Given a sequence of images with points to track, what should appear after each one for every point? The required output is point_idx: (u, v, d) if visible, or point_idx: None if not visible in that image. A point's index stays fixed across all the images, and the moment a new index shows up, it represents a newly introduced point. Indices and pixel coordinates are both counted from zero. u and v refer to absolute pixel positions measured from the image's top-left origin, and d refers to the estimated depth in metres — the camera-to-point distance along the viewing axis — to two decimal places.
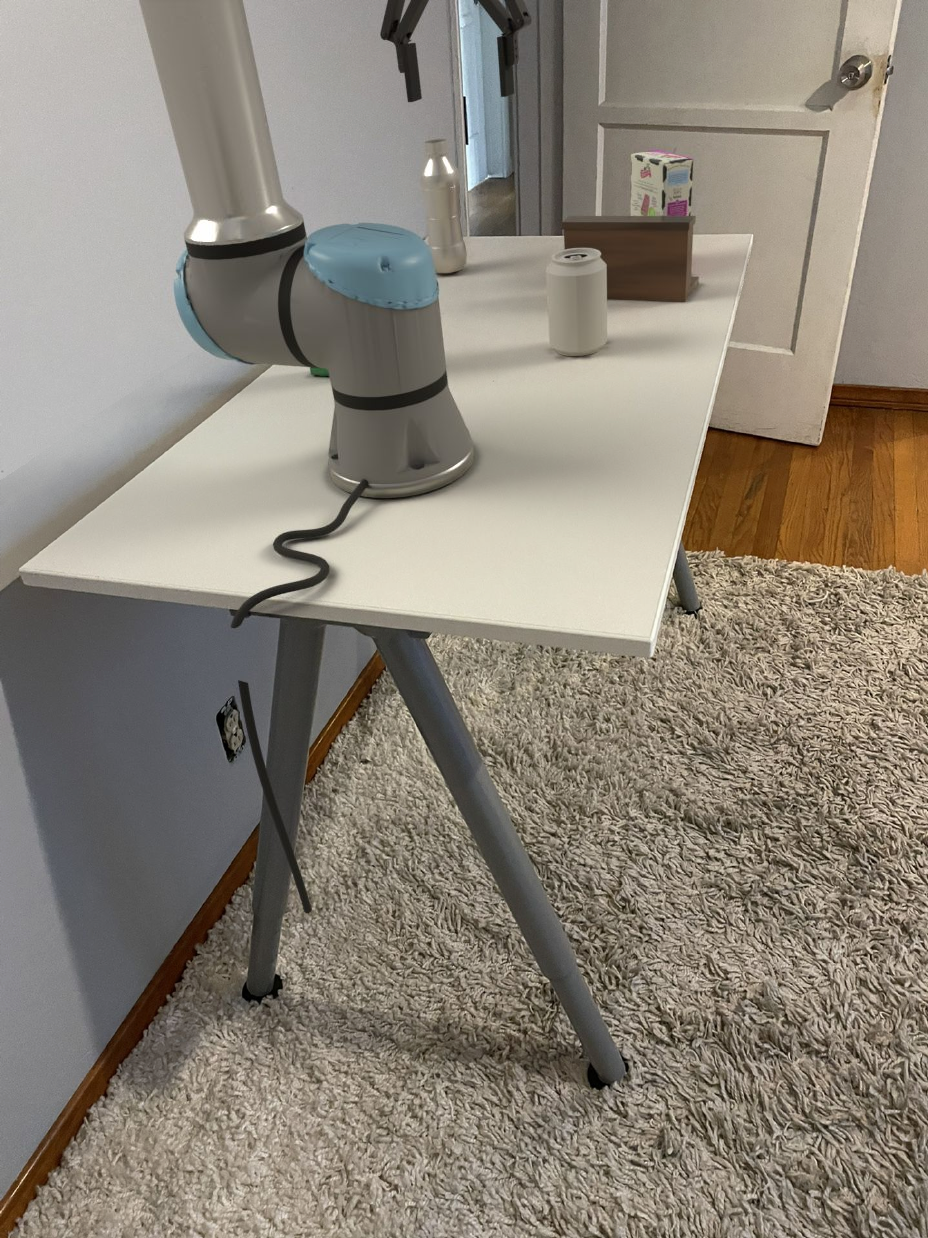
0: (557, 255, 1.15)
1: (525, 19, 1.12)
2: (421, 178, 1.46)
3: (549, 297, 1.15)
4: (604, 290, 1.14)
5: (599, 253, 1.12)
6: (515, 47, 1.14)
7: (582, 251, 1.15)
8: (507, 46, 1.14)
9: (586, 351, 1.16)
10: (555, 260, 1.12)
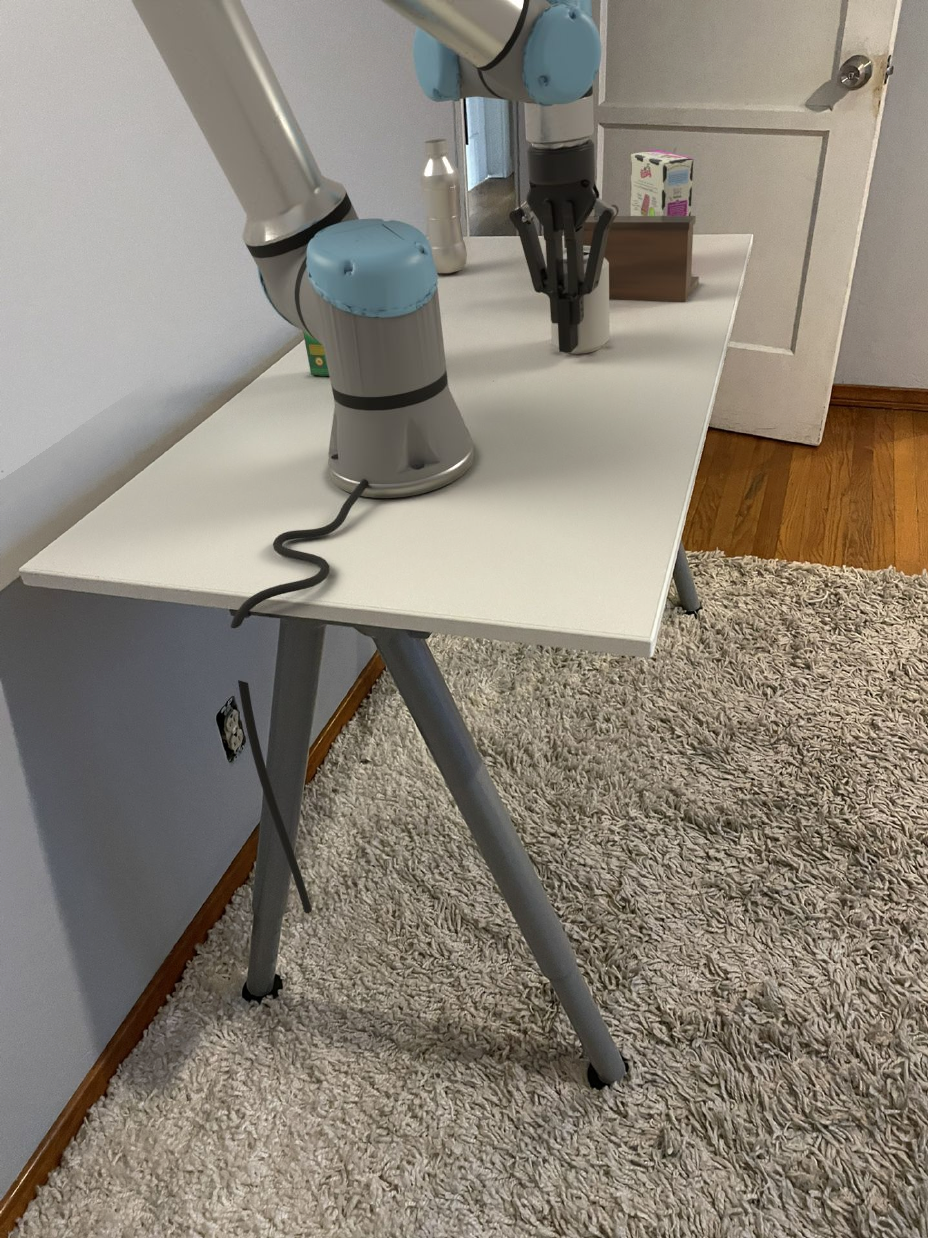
0: None
1: (592, 289, 1.09)
2: (421, 178, 1.46)
3: None
4: (606, 288, 1.14)
5: None
6: (581, 308, 1.12)
7: (585, 249, 1.16)
8: (572, 308, 1.12)
9: (588, 348, 1.17)
10: None
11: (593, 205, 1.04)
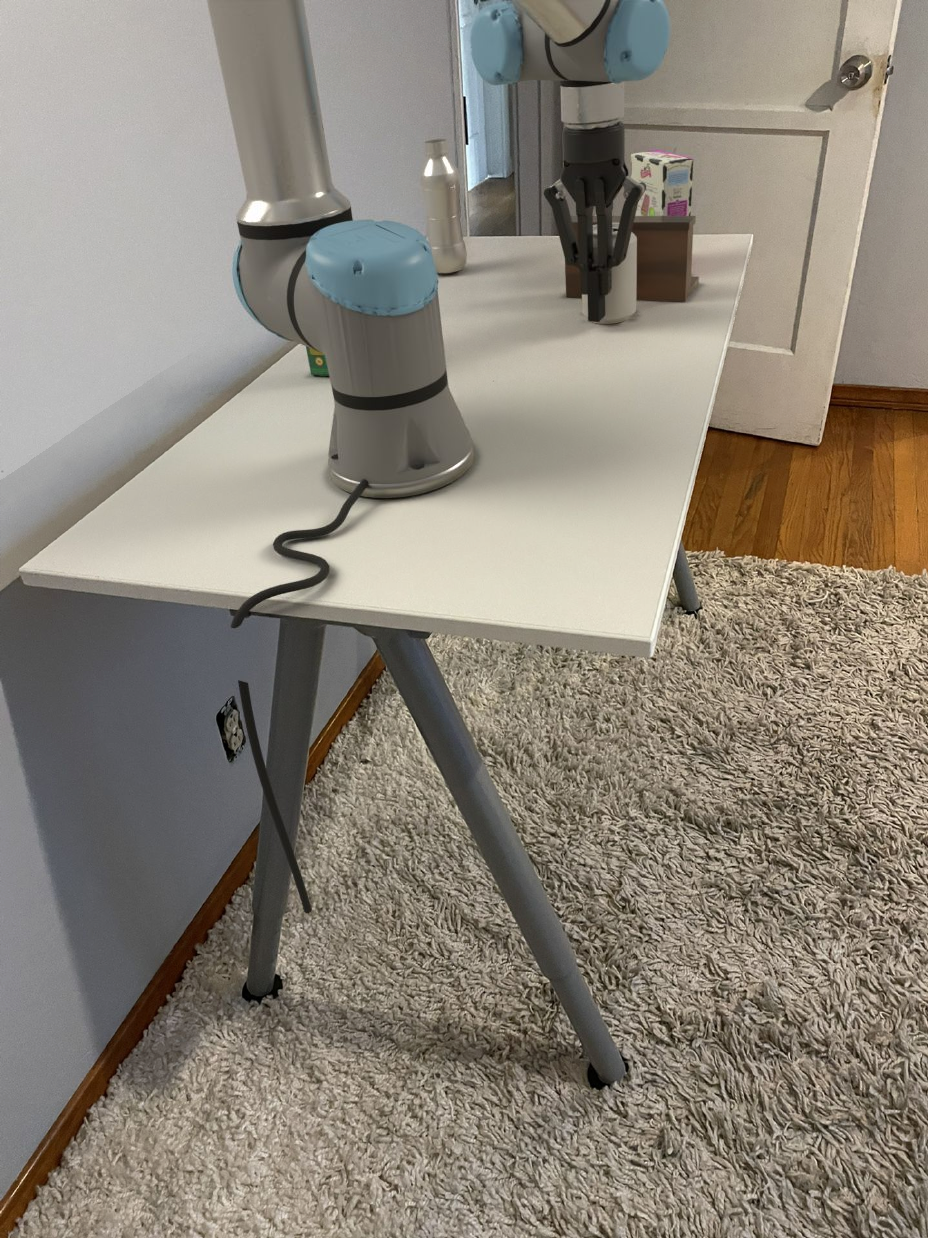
0: (593, 228, 1.23)
1: (621, 261, 1.18)
2: (421, 178, 1.46)
3: None
4: (632, 263, 1.22)
5: None
6: (609, 280, 1.20)
7: (617, 226, 1.23)
8: (601, 279, 1.20)
9: (612, 319, 1.25)
10: None
11: (623, 182, 1.12)
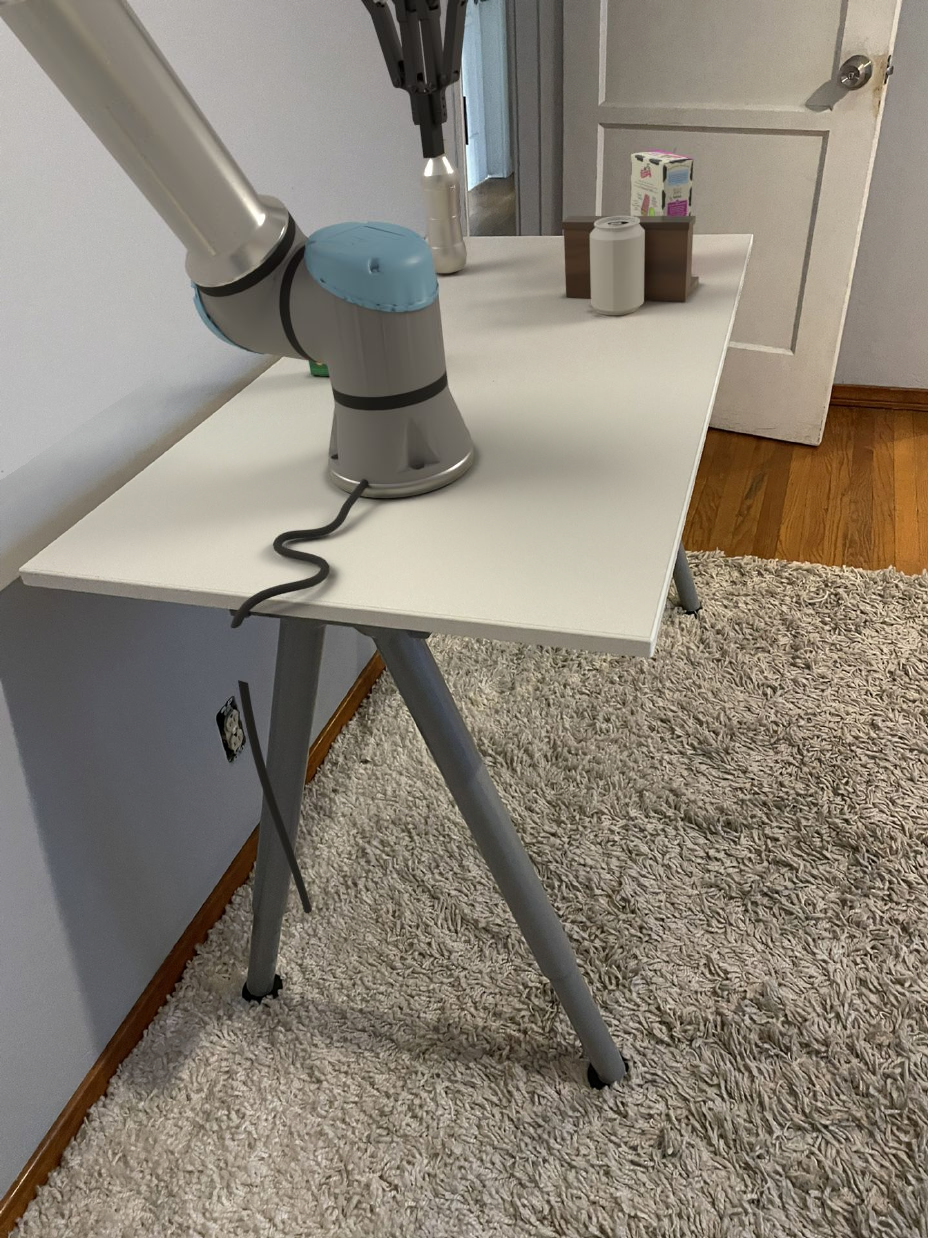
0: (601, 221, 1.26)
1: (452, 79, 1.01)
2: (421, 178, 1.46)
3: (590, 259, 1.27)
4: (640, 255, 1.24)
5: (638, 221, 1.23)
6: (442, 105, 1.03)
7: (625, 219, 1.26)
8: (433, 104, 1.03)
9: (620, 310, 1.28)
10: (596, 225, 1.24)
11: None
